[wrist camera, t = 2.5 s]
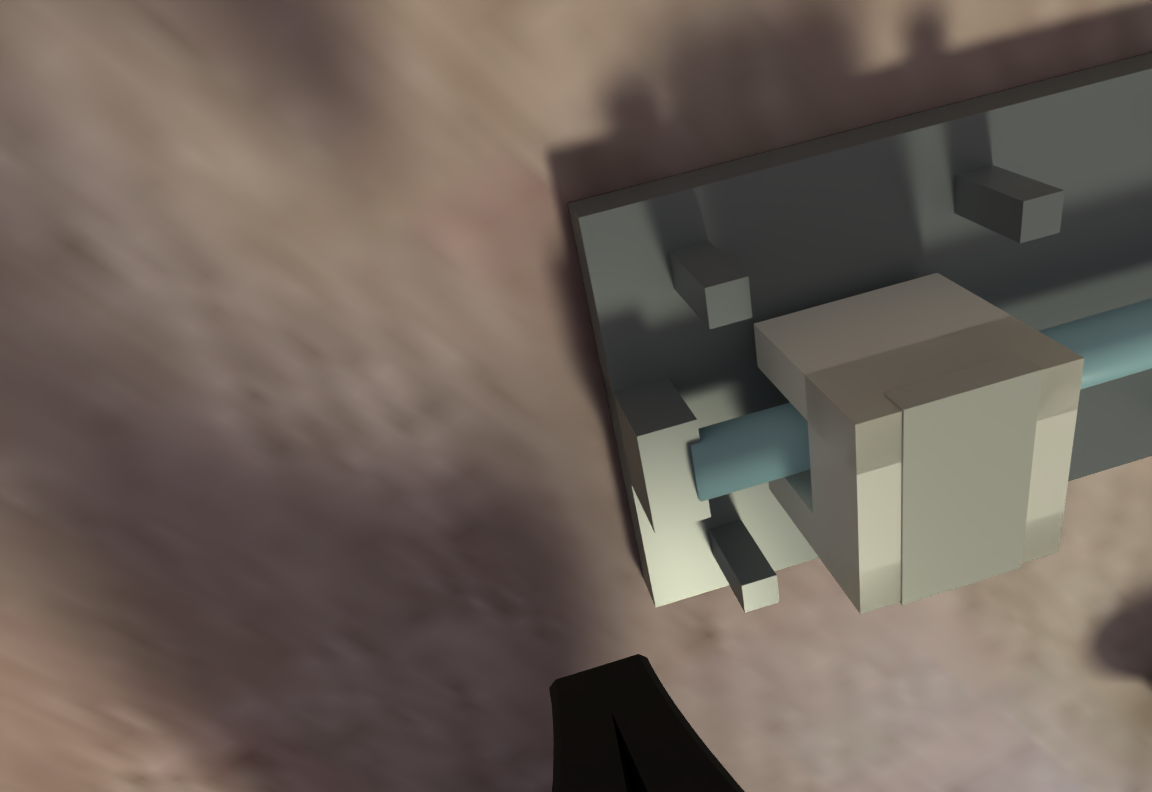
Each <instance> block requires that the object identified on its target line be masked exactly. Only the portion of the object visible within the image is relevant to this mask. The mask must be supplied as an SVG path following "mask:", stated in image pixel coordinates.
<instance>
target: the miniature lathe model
mask: <svg viewBox="0 0 1152 792" xmlns="http://www.w3.org/2000/svg"><path fill="white" fill-rule="evenodd" d="M568 208H569V213H570V218H571V223H572V228H573V233H574V238H575V242H576V247H577V252H578V257H579V262H580V267H581V272H582V277H583V282H584V287H585V292H586V297H587V301H588V306H589V311H590V316H591V321H592V326H593V331H594V336H595V341H596V346H597V351H598V355H599V360H600V365H601V370H602V375H603V380H604V385H605V390H606V395H607V400H608V405H609V409H610V414H611V419H612V424H613V429H614V434H615V439H616V444H617V449H618V454H619V459H620V463H621V468H622V473H623V478H624V483H625V488H626V493H627V498H628V503H629V508H630V513H631V518H632V522H633V527H634V532H635V537H636V542H637V547H638V552H639V557H640V562H641V567H642V572H643V576H644V581H645V583H646V586H647V588H648V590H649V593H650V595H651V597H652V600H653V602H654V604H655V607H659V606H663V605H666V604H669V603H672V602H676V601H679V600H682V599H685V598H689V597H692V596H695V595H698V594H702V593H705V592H708V591H712V590H715V589H718V588H721V587H725V586H728V585H730V587H731V588H732V590H733V592H734V594H735V596H736V597H737V599H738V601H739V603H740V605H741V606H742V608H743V610H744V612H749V611H752V610H755V609H758V608H762V607H765V606H768V605H771V604H774V603H778V602H779V593H778V583H777V575H776V573H775V572H774V571H777V570H780V569H783V568H787V567H790V566H793V565H796V564H800V563H803V562H806V561H809V560H813V559H816V558H819V557H818V555H817V554H816V552H815V551H814V550H813V548H812V547H811V546H810V544H809V543H808V542H807V540H806V539H805V537H804V536H803V535H802V533H801V532H800V531H799V529H798V528H797V526H796V525H795V524H794V522H793V521H792V520H791V518H790V517H789V515H788V514H787V513H786V511H785V510H784V509H783V507H782V506H781V504H780V503H779V502H778V500H777V499H776V498H775V496H774V495H773V494H772V492H771V491H770V489H769V482H770V481H773V480H776V479H780V478H783V477H787V476H790V475H793V474H797V473H800V472H803V471H807V470H810V453H809V437H808V421H807V420H806V419H805V418H804V417H803V416H802V415H801V414H800V413H799V411H798V410H797V409H796V408H795V407H794V406H793V405H792V404H791V403H790V402H789V400H788V399H787V398H786V397H785V396H784V395H783V394H782V393H781V392H780V391H779V390H778V388H777V387H776V386H775V385H774V384H773V383H772V382H771V381H770V380H769V379H768V378H767V376H766V375H765V374H764V373H763V372H762V371H761V370H760V369H759V368H758V365H757V355H756V344H755V334H754V323H758V322H761V321H765V320H769V319H772V318H776V317H779V316H783V315H787V314H790V313H794V312H797V311H801V310H805V309H808V308H812V307H815V306H819V305H823V304H826V303H830V302H834V301H837V300H841V299H844V298H848V297H852V296H855V295H859V294H862V293H866V292H870V291H873V290H877V289H880V288H884V287H888V286H891V285H895V284H898V283H902V282H906V281H909V280H913V279H916V278H920V277H924V276H927V275H931V274H934V273H939V274H941V275H942V276H944V277H946V278H948V279H949V280H951V281H953V282H954V283H956V284H958V285H960V286H961V287H963V288H965V289H966V290H968V291H970V292H972V293H973V294H975V295H977V296H979V297H980V298H982V299H984V300H985V301H987V302H989V303H991V304H992V305H994V306H996V307H998V308H999V309H1001V310H1003V311H1004V312H1006V313H1008V314H1010V315H1011V316H1013V317H1015V318H1017V319H1018V320H1020V321H1022V322H1023V323H1025V324H1027V325H1029V326H1030V327H1032V328H1034V329H1036V330H1037V331H1039V332H1041V333H1042V334H1044V335H1046V336H1048V337H1049V338H1051V339H1053V340H1055V341H1056V342H1058V343H1060V344H1061V345H1063V346H1065V347H1067V348H1068V349H1070V350H1072V351H1074V352H1075V353H1077V354H1079V355H1080V356H1082V357H1084V365H1083V372H1082V380H1081V387H1080V395H1079V402H1078V410H1077V417H1076V425H1075V432H1074V440H1073V447H1072V455H1071V462H1070V470H1069V477H1068V481H1071V480H1074V479H1077V478H1081V477H1084V476H1087V475H1090V474H1094V473H1097V472H1100V471H1103V470H1107V469H1110V468H1113V467H1116V466H1120V465H1123V464H1126V463H1130V462H1133V461H1136V460H1139V459H1143V458H1146V457H1149V456H1152V52H1151V53H1147V54H1143V55H1139V56H1135V57H1132V58H1128V59H1124V60H1120V61H1116V62H1112V63H1108V64H1105V65H1101V66H1097V67H1093V68H1089V69H1085V70H1081V71H1077V72H1074V73H1070V74H1066V75H1062V76H1058V77H1054V78H1050V79H1047V80H1043V81H1039V82H1035V83H1031V84H1027V85H1023V86H1019V87H1016V88H1012V89H1008V90H1004V91H1000V92H996V93H992V94H989V95H985V96H981V97H977V98H973V99H969V100H965V101H962V102H958V103H954V104H950V105H946V106H942V107H938V108H934V109H931V110H927V111H923V112H919V113H915V114H911V115H907V116H904V117H900V118H896V119H892V120H888V121H884V122H880V123H876V124H873V125H869V126H865V127H861V128H857V129H853V130H849V131H846V132H842V133H838V134H834V135H830V136H826V137H822V138H819V139H815V140H811V141H807V142H803V143H799V144H795V145H791V146H788V147H784V148H780V149H776V150H772V151H768V152H764V153H761V154H757V155H753V156H749V157H745V158H741V159H737V160H733V161H730V162H726V163H722V164H718V165H714V166H710V167H706V168H703V169H699V170H695V171H691V172H687V173H683V174H679V175H676V176H672V177H668V178H664V179H660V180H656V181H652V182H648V183H645V184H641V185H637V186H633V187H629V188H625V189H621V190H618V191H614V192H610V193H606V194H602V195H598V196H594V197H590V198H587V199H583V200H579V201H575V202H571V203H568Z"/></svg>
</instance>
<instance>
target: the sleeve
mask: <svg viewBox="0 0 1152 792" xmlns="http://www.w3.org/2000/svg"><path fill="white" fill-rule="evenodd" d="M754 334H755V344H756V355H757V365H758V368H759V369H760V370H761V371H762V372H763V373H764V374H765V375H766V376H767V378H768V379H769V380H770V381H771V382H772V383H773V384H774V385H775V386H776V387H777V388H778V390H779V391H780V392H781V393H782V394H783V395H784V396H785V397H786V398H787V399H788V400H789V402H790V403H791V404H792V405H793V406H794V407H795V408H796V409H797V410H798V411H799V413H800V414H801V415H802V416H803V417H804V418H805V419H806V420H807V421H808V437H809V453H810V470H807V471H803V472H800V473H797V474H793V475H790V476H787V477H783V478H780V479H776V480H773V481H770V482H769V489H770V491H771V492H772V494H773V495H774V496H775V498H776V499H777V500H778V502H779V503H780V504H781V506H782V507H783V509H784V510H785V511H786V513H787V514H788V515H789V517H790V518H791V520H792V521H793V522H794V524H795V525H796V526H797V528H798V529H799V531H800V532H801V533H802V535H803V536H804V537H805V539H806V540H807V542H808V543H809V544H810V546H811V547H812V548H813V550H814V551H815V552H816V554H817V555H818V557H819V558H820V559H821V561H822V562H823V563H824V565H825V566H826V568H827V569H828V570H829V572H830V573H831V574H832V576H833V577H834V579H835V580H836V581H837V583H838V584H839V585H840V587H841V588H842V590H843V591H844V592H845V594H846V595H847V596H848V598H849V599H850V600H851V602H852V603H853V605H854V606H855V607H856V609H857V610H858V611H859V613H860V614H862V613H866V612H869V611H872V610H875V609H878V608H882V607H885V606H888V605H891V604H894V603H897V602H900V603H901V604H902V605H905V604H908V603H911V602H914V601H917V600H921V599H924V598H927V597H930V596H933V595H936V594H940V593H943V592H946V591H949V590H952V589H956V588H959V587H962V586H965V585H968V584H971V583H975V582H978V581H981V580H984V579H987V578H990V577H994V576H997V575H1000V574H1003V573H1006V572H1010V571H1013V570H1016V569H1019V568H1021V566H1022V563H1025V562H1028V561H1031V560H1034V559H1038V558H1041V557H1044V556H1047V555H1050V554H1053V553H1057V552H1059V545H1060V537H1061V530H1062V522H1063V515H1064V507H1065V500H1066V492H1067V485H1068V477H1069V470H1070V462H1071V455H1072V447H1073V440H1074V432H1075V425H1076V417H1077V410H1078V402H1079V395H1080V387H1081V380H1082V372H1083V365H1084V357H1082V356H1080V355H1079V354H1077V353H1075V352H1074V351H1072V350H1070V349H1068V348H1067V347H1065V346H1063V345H1061V344H1060V343H1058V342H1056V341H1055V340H1053V339H1051V338H1049V337H1048V336H1046V335H1044V334H1042V333H1041V332H1039V331H1037V330H1036V329H1034V328H1032V327H1030V326H1029V325H1027V324H1025V323H1023V322H1022V321H1020V320H1018V319H1017V318H1015V317H1013V316H1011V315H1010V314H1008V313H1006V312H1004V311H1003V310H1001V309H999V308H998V307H996V306H994V305H992V304H991V303H989V302H987V301H985V300H984V299H982V298H980V297H979V296H977V295H975V294H973V293H972V292H970V291H968V290H966V289H965V288H963V287H961V286H960V285H958V284H956V283H954V282H953V281H951V280H949V279H948V278H946V277H944V276H942V275H941V274H939V273H934V274H931V275H927V276H924V277H920V278H916V279H913V280H909V281H906V282H902V283H898V284H895V285H891V286H888V287H884V288H880V289H877V290H873V291H870V292H866V293H862V294H859V295H855V296H852V297H848V298H844V299H841V300H837V301H834V302H830V303H826V304H823V305H819V306H815V307H812V308H808V309H805V310H801V311H797V312H794V313H790V314H787V315H783V316H779V317H776V318H772V319H769V320H765V321H761V322H758V323H754Z"/></svg>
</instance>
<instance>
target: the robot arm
mask: <svg viewBox="0 0 1152 792" xmlns="http://www.w3.org/2000/svg"><path fill="white" fill-rule="evenodd" d="M549 689H550V696H551V702H552V714H553V732H554V760H553V787H552V792H744V790H743V789H742V788H741V787H740V786H739V785H738V784H737V782H736V781H735V780H734V779H733V778H732V776H731V775H730V774H729V773H728V772H727V770H726V769H725V768H724V767H723V766H722V764H721V763H720V762H719V761H718V760H717V758H716V757H715V756H714V755H713V754H712V752H711V751H710V750H709V749H708V748H707V746H706V745H705V744H704V742H703V741H702V740H701V739H700V737H699V736H698V735H697V733H696V732H695V731H694V729H693V728H692V727H691V725H690V724H689V723H688V721H687V720H686V719H685V717H684V716H683V714H682V713H681V712H680V710H679V709H678V708H677V706H676V705H675V703H674V702H673V700H672V699H671V697H670V696H669V694H668V693H667V691H666V690H665V688H664V687H663V685H662V683H661V682H660V680H659V678H658V677H657V675H656V673H655V672H654V670H653V668H652V666H651V664H650V662H649V660H648V658H647V657H644V656H642V655H640V654H637V655H634V656H631V657H627V658H624V659H621V660H618V661H615V662H611V663H608V664H605V665H602V666H598V667H595V668H592V669H589V670H586V671H582V672H579V673H576V674H573V675H569V676H566V677H563V678H560V679H557V680H555V681H554V682H553V684H552V685H551V686H550V688H549Z"/></svg>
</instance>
